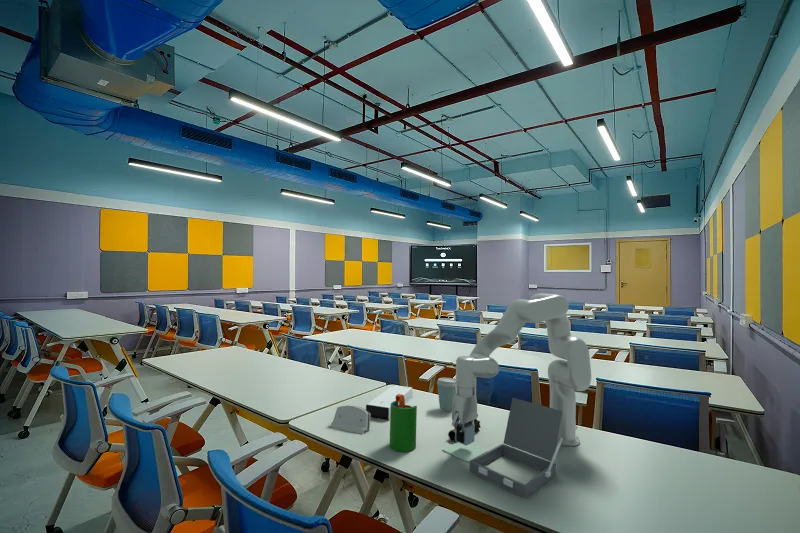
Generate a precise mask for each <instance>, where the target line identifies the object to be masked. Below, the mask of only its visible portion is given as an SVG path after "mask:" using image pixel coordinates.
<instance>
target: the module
mask: <svg viewBox="0 0 800 533" xmlns="http://www.w3.org/2000/svg"><path fill="white" fill-rule="evenodd" d="M459 426H460V427H461V424H459ZM463 432H464V443H461V442H459V443H461V444H464V445H466V446H467V445H469V444H473V443H474V442H475V434H476V432H475V425H472V424H470V423H465V424H464V429H463ZM455 441H456V430H455ZM457 442H458V441H456V442H455V443H457Z"/></svg>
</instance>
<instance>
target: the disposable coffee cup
mask: <svg viewBox="0 0 800 533" xmlns="http://www.w3.org/2000/svg"><path fill="white" fill-rule="evenodd" d="M436 384H437V392H438V393H437V395H438V403H439V404H438V405H439V409H440V411H441V412H445V413H452V407H453V400H454V395H455V394H456V378H455V379H454V378H451V377H440V378H437V381H436Z"/></svg>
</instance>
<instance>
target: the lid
mask: <svg viewBox="0 0 800 533" xmlns="http://www.w3.org/2000/svg"><path fill="white" fill-rule="evenodd" d="M562 414H563V411H560V410H556V409H553V408H550V406H549V407H548V406H545V405H540V404H538V403H534V402H530V401H526V400H524V399H520V398H516V397H512V398H511V403H510V409H509V412H508V417H507V418H508V419H507V422H506V424H507V425H506V429H505V433H504V439H503V444H504V445H507V446H509V447H512V448H515V449H517V450H520V451H523V452H525V453H528V454H531V455H533V456H536V457H538V458H541V459H544V460H546V461H549V462H551V460H552V458H553V455H554V453H555V450H556V448H557V445H558V439H559V433H560V427H561V420H562ZM555 462H556V459H555V460H554V464H556V463H555Z"/></svg>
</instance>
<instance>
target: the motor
mask: <svg viewBox="0 0 800 533" xmlns="http://www.w3.org/2000/svg"><path fill="white" fill-rule="evenodd" d="M398 402H399V405H398ZM417 407H418V406H417V405H413V406H411V405H407V404H406V405H405V399H404V395H401V394H398V395H396V401H393V402H392V403H391V411H390V420H389V448H390V449H391V450H393V451H395V452H399V453H407V452H412V451H414V450H416V448H417V418H418V417H417V415H418V414H417V411H418V408H417Z"/></svg>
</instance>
